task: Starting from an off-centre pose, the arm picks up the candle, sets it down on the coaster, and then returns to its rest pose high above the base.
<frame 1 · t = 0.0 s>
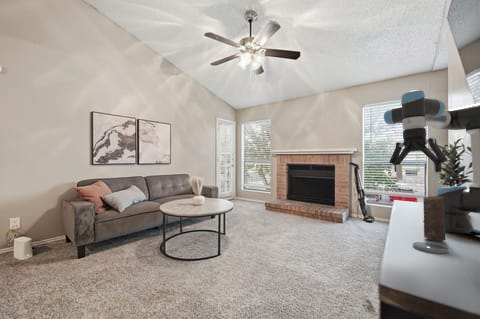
hand: (416, 180, 90), 28 cm above the tv stand, fingers open, 13 cm apart
candle: (434, 241, 100), on the tv stand
coaster: (430, 248, 89), on the tv stand
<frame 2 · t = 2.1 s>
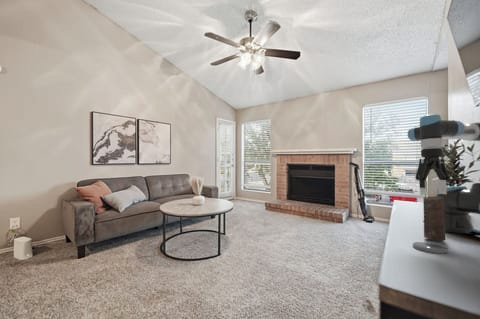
hand: (433, 194, 100), 21 cm above the tv stand, fingers open, 13 cm apart
nothing on the tv stand moved.
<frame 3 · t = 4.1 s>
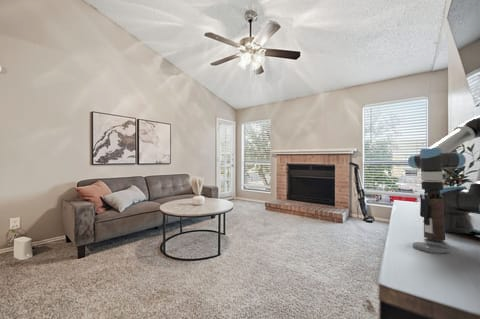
hand: (434, 231, 100), 4 cm above the tv stand, fingers closed on candle, 7 cm apart
candle: (434, 241, 100), on the tv stand, touching gripper
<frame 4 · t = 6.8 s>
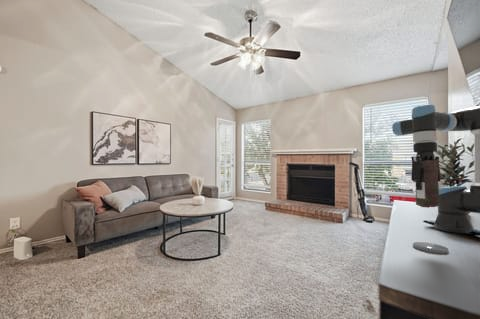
hand: (427, 197, 90), 21 cm above the tv stand, fingers closed on candle, 7 cm apart
candle: (427, 208, 90), point 17 cm above the tv stand, touching gripper
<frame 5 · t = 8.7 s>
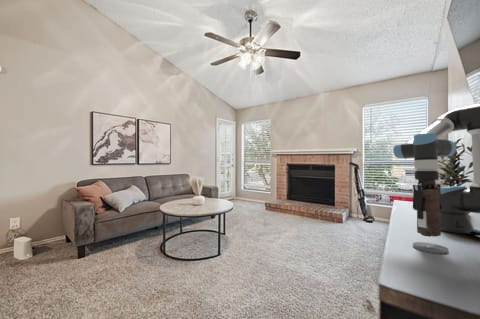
hand: (428, 226, 90), 9 cm above the tv stand, fingers closed on candle, 7 cm apart
candle: (429, 236, 89), point 5 cm above the tv stand, touching gripper
when the fingers open (7 cm above the tv stand, at t = 9.7 s): candle drops 1 cm, resting on coaster.
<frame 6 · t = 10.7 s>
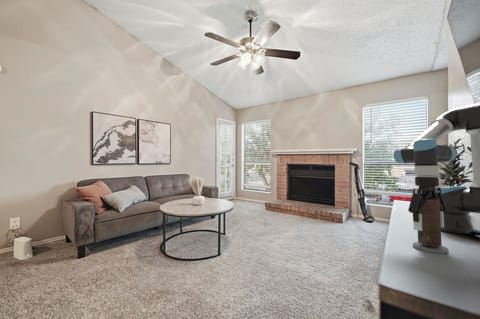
hand: (429, 228, 90), 8 cm above the tv stand, fingers open, 13 cm apart
candle: (429, 246, 89), point 1 cm above the tv stand, touching coaster
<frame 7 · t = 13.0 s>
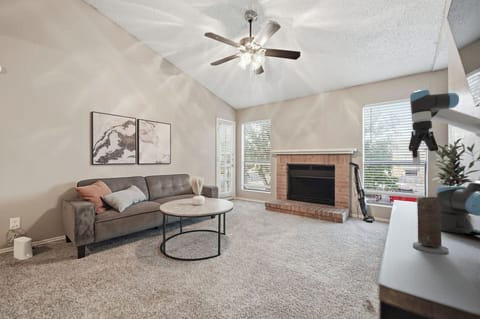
hand: (425, 164, 108), 35 cm above the tv stand, fingers open, 13 cm apart
nothing on the tv stand moved.
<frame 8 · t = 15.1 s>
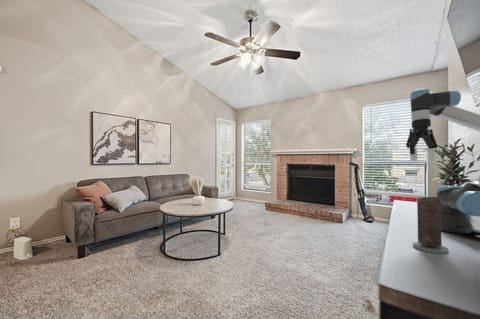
hand: (422, 161, 112), 37 cm above the tv stand, fingers open, 13 cm apart
nothing on the tv stand moved.
at the end: candle inside the target area on the coaster (0.1 cm from its centre), point 0.8 cm above the coaster's base; candle tilted 0°; the gripper is holding nothing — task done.
